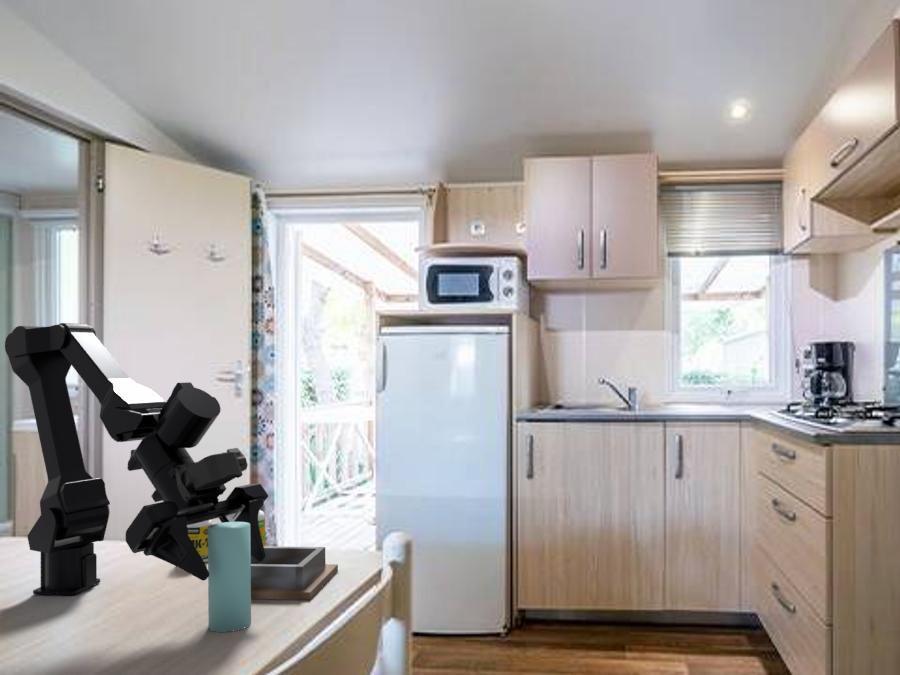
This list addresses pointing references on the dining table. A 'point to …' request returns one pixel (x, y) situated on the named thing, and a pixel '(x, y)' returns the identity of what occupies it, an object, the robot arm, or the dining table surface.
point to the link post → (229, 576)
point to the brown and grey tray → (290, 573)
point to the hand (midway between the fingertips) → (236, 568)
